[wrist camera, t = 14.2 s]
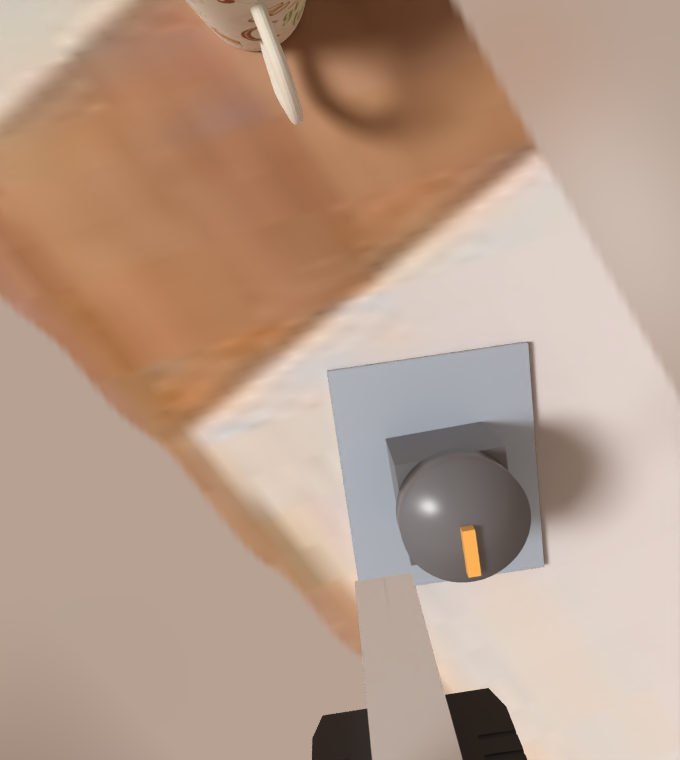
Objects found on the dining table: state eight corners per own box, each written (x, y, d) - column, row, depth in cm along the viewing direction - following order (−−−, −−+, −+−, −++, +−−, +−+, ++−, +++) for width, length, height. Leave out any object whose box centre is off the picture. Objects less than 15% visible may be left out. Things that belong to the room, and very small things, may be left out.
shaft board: (327, 370, 36) (327, 387, 31) (525, 341, 36) (557, 354, 31) (360, 590, 39) (365, 637, 34) (542, 563, 39) (573, 607, 34)
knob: (378, 433, 36) (391, 477, 29) (486, 414, 36) (527, 452, 29) (395, 533, 38) (412, 597, 31) (499, 514, 38) (541, 575, 31)
